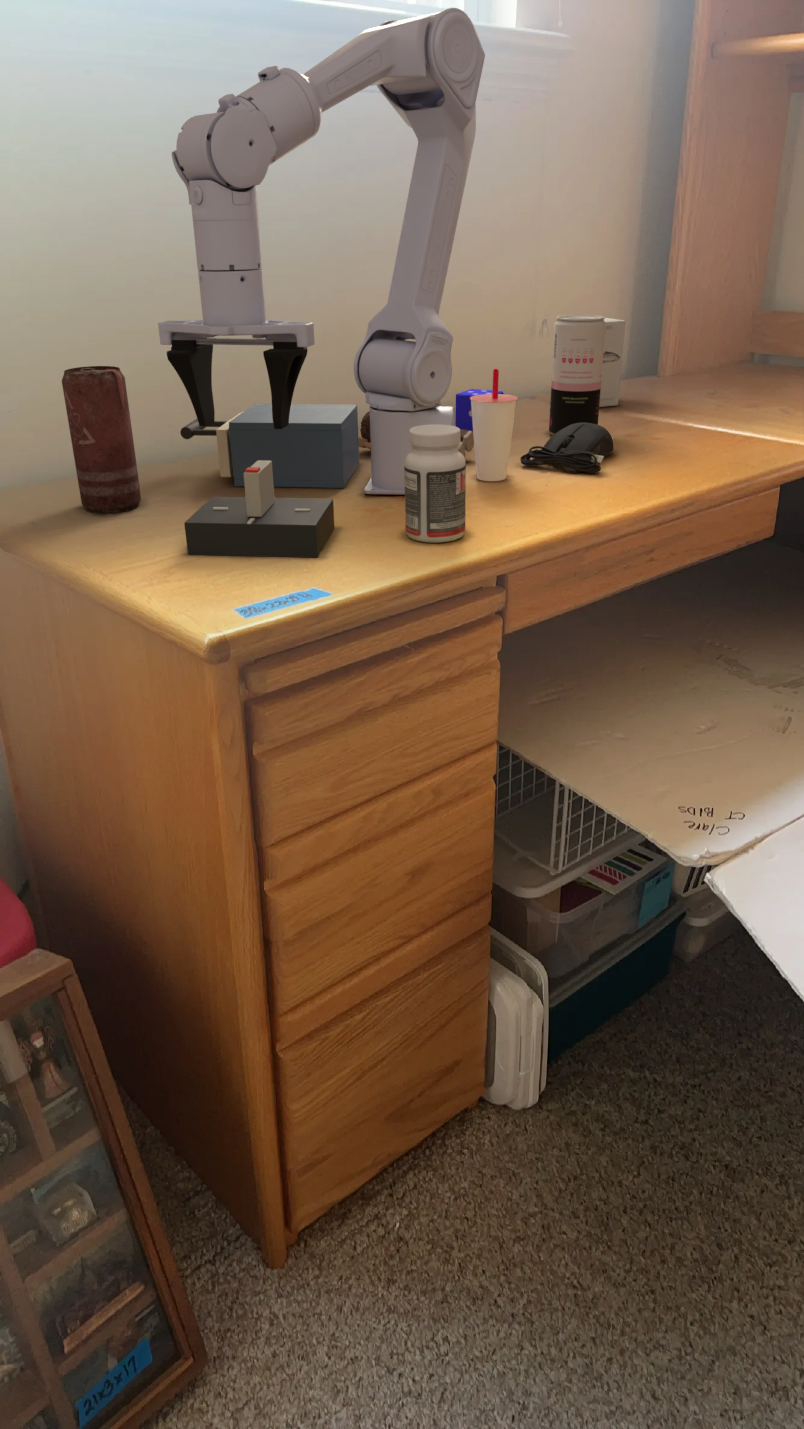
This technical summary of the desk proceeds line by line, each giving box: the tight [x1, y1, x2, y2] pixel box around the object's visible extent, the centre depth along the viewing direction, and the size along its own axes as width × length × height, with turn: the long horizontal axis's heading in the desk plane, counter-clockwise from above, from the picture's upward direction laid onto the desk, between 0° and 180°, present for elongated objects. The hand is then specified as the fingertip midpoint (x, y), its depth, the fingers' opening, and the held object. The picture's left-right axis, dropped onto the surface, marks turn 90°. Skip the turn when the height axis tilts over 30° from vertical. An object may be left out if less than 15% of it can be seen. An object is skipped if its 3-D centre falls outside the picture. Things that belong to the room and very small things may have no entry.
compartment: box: [229, 403, 360, 489], centre depth 114 cm, size 13×12×7 cm
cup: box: [470, 368, 519, 482], centre depth 111 cm, size 5×5×12 cm
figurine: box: [358, 410, 474, 459], centre depth 125 cm, size 8×5×15 cm
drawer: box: [179, 412, 242, 478], centre depth 115 cm, size 16×10×5 cm, turn 84°
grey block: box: [244, 460, 275, 517], centre depth 91 cm, size 5×1×4 cm, turn 173°
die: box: [455, 388, 504, 431], centre depth 138 cm, size 5×5×5 cm
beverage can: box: [548, 314, 606, 436], centre depth 131 cm, size 7×6×15 cm
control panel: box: [183, 496, 335, 558], centre depth 92 cm, size 12×9×3 cm
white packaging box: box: [599, 317, 626, 408], centre depth 152 cm, size 7×7×13 cm
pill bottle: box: [404, 424, 467, 544], centre depth 92 cm, size 6×6×10 cm
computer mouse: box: [519, 423, 615, 474], centre depth 121 cm, size 10×15×4 cm
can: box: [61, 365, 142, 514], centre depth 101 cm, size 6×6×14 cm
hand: (243, 425), depth 94 cm, fingers open, 7 cm apart
